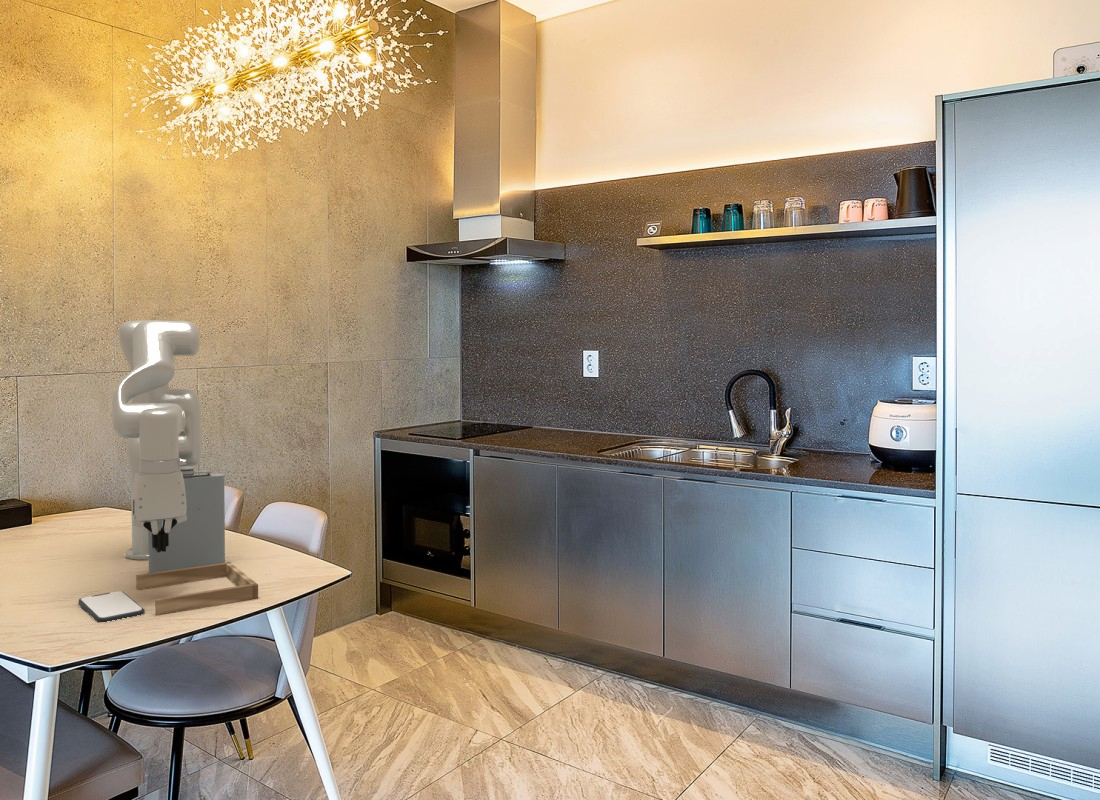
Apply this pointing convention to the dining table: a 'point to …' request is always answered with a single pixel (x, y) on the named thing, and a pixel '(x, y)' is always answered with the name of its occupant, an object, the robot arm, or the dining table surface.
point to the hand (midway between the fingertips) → (160, 550)
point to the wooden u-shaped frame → (241, 592)
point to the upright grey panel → (195, 526)
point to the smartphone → (110, 606)
